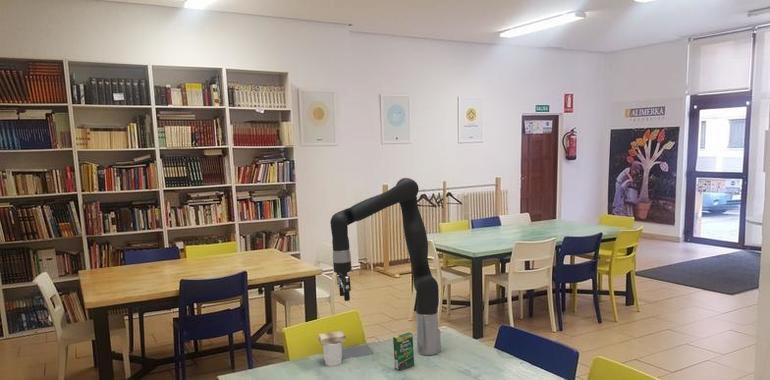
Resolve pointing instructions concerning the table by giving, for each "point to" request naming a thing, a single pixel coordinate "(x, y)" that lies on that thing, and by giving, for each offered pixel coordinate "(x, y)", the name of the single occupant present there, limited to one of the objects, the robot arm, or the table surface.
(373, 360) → the table surface
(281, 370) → the table surface
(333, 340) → the lid board
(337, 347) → the white cup
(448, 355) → the table surface
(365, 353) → the mat
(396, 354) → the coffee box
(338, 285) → the robot arm
